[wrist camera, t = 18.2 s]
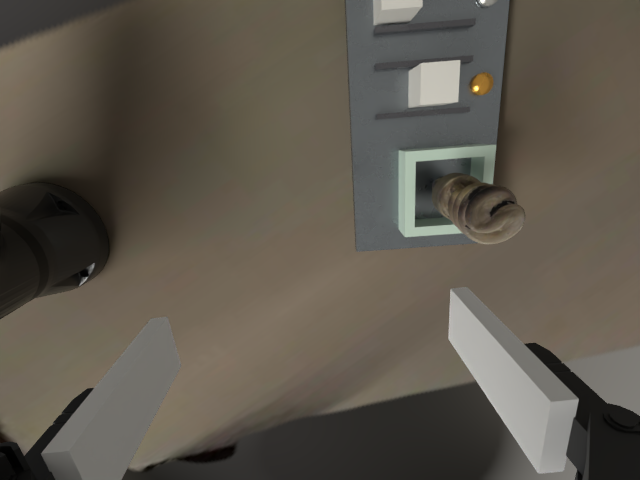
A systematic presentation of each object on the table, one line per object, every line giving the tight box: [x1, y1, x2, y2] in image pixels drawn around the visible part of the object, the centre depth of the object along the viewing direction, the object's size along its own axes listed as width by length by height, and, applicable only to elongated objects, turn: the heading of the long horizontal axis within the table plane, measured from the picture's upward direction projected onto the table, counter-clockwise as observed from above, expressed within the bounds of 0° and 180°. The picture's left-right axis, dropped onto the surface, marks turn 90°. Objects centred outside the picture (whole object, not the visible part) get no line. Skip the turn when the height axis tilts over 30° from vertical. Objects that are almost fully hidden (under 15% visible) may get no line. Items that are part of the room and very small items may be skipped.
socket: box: [399, 144, 496, 237], centre depth 41 cm, size 10×10×4 cm
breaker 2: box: [408, 60, 460, 108], centre depth 37 cm, size 4×4×5 cm
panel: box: [345, 0, 510, 252], centre depth 40 cm, size 18×32×2 cm, turn 4°
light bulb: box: [432, 173, 525, 244], centre depth 36 cm, size 6×6×15 cm
